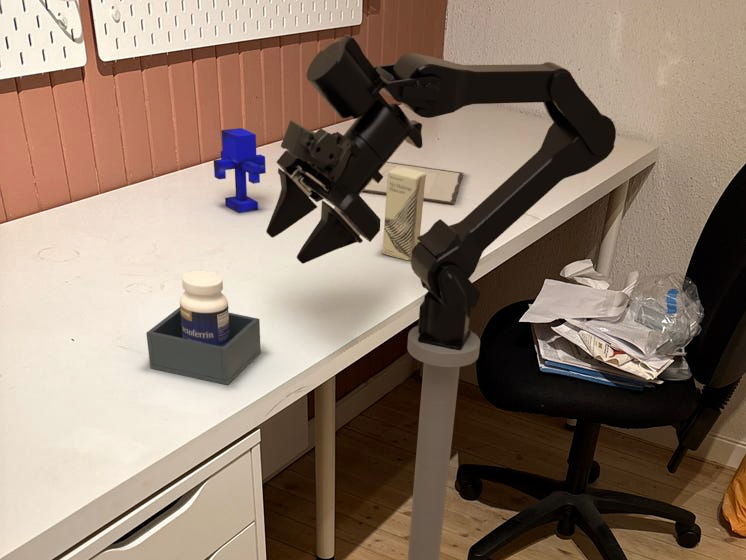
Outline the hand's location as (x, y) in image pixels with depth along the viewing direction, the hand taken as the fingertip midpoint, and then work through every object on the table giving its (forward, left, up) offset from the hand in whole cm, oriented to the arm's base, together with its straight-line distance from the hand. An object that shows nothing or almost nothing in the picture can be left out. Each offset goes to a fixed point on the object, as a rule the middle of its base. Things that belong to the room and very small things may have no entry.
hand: (283, 247), depth 119 cm
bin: (+7, +9, -13) cm, 17 cm away
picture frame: (+11, -80, -13) cm, 82 cm away
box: (-4, -41, -13) cm, 43 cm away
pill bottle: (+7, +9, -12) cm, 17 cm away
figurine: (+27, -48, -13) cm, 57 cm away
